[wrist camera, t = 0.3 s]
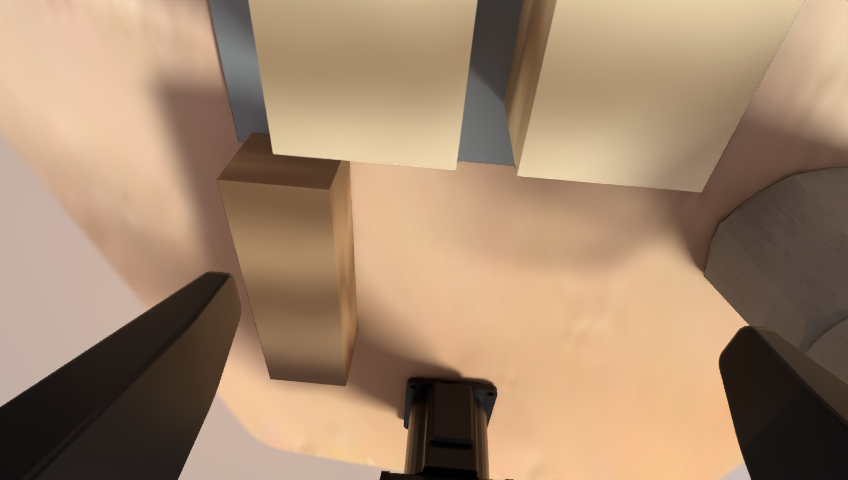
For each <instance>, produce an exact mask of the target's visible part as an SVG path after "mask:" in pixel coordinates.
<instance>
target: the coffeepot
mask: <svg viewBox="0 0 848 480" xmlns="http://www.w3.org/2000/svg"><path fill="white" fill-rule="evenodd" d="M704 277H705V278H706V279H707V280H708V281H709V282H710V283H711V284H712V285H713V286H714V288H715V289H716V290H717V291H718V292H719V293H720V294H721V295H722V296H723V297H724V298H725V299H726V301H727V302H728V303H729V304H730V305H731V306H732V307H733V308H734V309H735V310H736V311H737V312H738V313H739V315H740V316H741V317H742V318H743V319H744V320H745V321H746V322H747V323H748V324H749V325H750V326H756V327H766V328H770V329H772V330H774V331H775V332H777V333H778V334H779V335H781V336H782V337H784V338H785V339H786V340H788V341H789V342H790V343H792V344H793V345H795V346H796V347H797V348H799V349H800V350H801V351H803V352H804V353H806V354H807V355H808V356H810V357H811V358H812V359H814V360H815V361H817V362H818V363H819V364H821V365H822V366H823V367H825V368H826V369H828V370H829V371H830V372H832V373H833V374H834V375H836V376H837V377H839V378H840V379H841V380H843V381H844V382H845V383H847V384H848V167H831V168H825V169H819V170H813V171H809V172H805V173H802V174H796V175H791V176H789V177H787V178H785V179H783V180H781V181H779V182H777V183H775V184H773V185H771V186H769V187H767V188H765V189H764V190H762V191H760V192H759V193H757V194H755V195H753V196H752V197H750V198H749V199H748V200H746V201H745V202H744V203H743V204H741V205H740V206H739V207H737V208H736V209H735V210H734V211H733V212H732V213H731V214H730V215H729V216H728V217H727V218H726V219H725V220H724V221H723V222H721V223H720V224H719V226H718V228H717V230H716V232H715V234H714V236H713V238H712V241H711V243H710V245H709V248H708V255H707V266H706V269H705V272H704Z"/></svg>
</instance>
